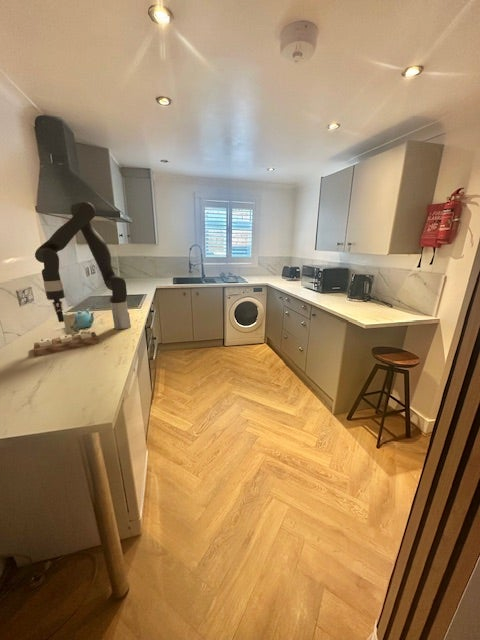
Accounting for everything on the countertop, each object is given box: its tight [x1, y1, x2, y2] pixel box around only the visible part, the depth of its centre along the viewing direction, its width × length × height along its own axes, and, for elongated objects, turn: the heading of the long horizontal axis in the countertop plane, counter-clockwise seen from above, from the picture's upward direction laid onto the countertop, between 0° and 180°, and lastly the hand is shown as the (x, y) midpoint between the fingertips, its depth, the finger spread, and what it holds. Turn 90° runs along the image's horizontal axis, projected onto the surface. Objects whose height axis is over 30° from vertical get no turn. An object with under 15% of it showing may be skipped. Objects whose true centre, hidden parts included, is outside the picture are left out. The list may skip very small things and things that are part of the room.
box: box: [63, 312, 80, 336], centre depth 151 cm, size 5×4×13 cm
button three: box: [79, 330, 92, 339], centre depth 141 cm, size 5×5×4 cm
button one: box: [59, 334, 73, 343], centre depth 136 cm, size 5×5×4 cm
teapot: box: [63, 307, 95, 330], centre depth 166 cm, size 15×15×10 cm
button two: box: [38, 337, 53, 347], centre depth 130 cm, size 5×5×4 cm
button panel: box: [33, 331, 100, 357], centre depth 136 cm, size 28×12×3 cm, turn 127°
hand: (61, 319), depth 133 cm, fingers open, 8 cm apart
